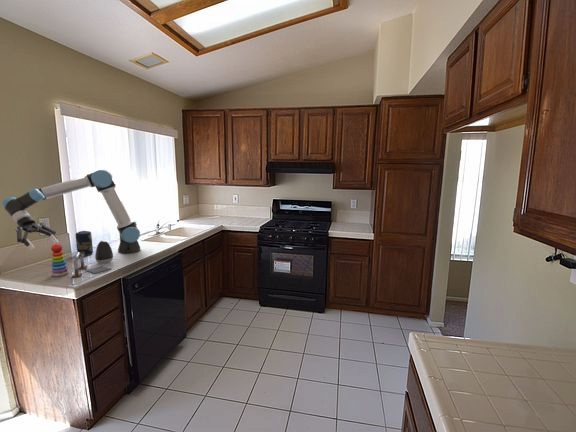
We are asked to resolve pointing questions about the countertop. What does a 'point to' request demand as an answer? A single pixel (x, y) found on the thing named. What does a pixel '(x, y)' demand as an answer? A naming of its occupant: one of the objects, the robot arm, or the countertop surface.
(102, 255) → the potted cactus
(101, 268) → the mat
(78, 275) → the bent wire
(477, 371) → the countertop surface
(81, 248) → the canister
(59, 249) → the stacking toy
